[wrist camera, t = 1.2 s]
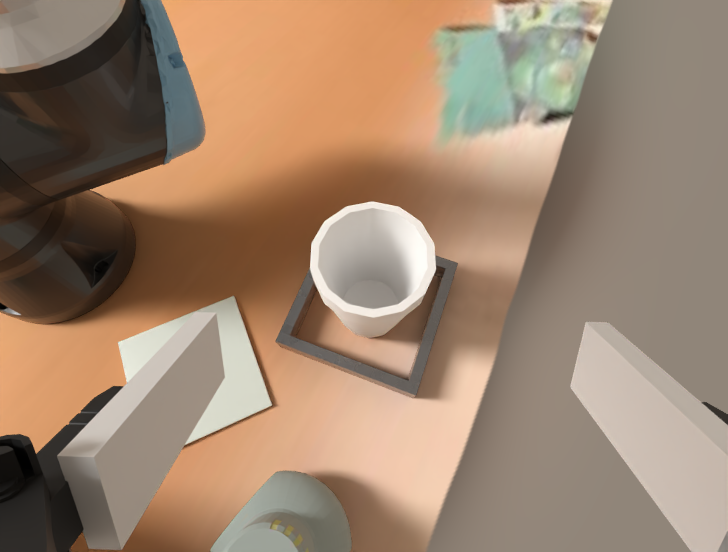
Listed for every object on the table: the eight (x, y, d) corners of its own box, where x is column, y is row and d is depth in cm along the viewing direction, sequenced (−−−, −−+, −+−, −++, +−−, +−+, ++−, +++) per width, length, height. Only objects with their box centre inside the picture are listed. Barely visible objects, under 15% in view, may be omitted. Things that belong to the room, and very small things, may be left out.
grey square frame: (280, 346, 40) (275, 341, 38) (333, 231, 45) (331, 220, 43) (412, 398, 38) (416, 395, 36) (452, 272, 43) (457, 263, 41)
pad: (120, 343, 40) (118, 342, 40) (234, 296, 42) (233, 295, 42) (147, 462, 36) (144, 462, 36) (272, 405, 38) (271, 405, 38)
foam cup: (391, 369, 39) (404, 339, 27) (309, 329, 41) (286, 284, 29) (428, 288, 42) (454, 229, 30) (350, 253, 44) (346, 184, 32)
